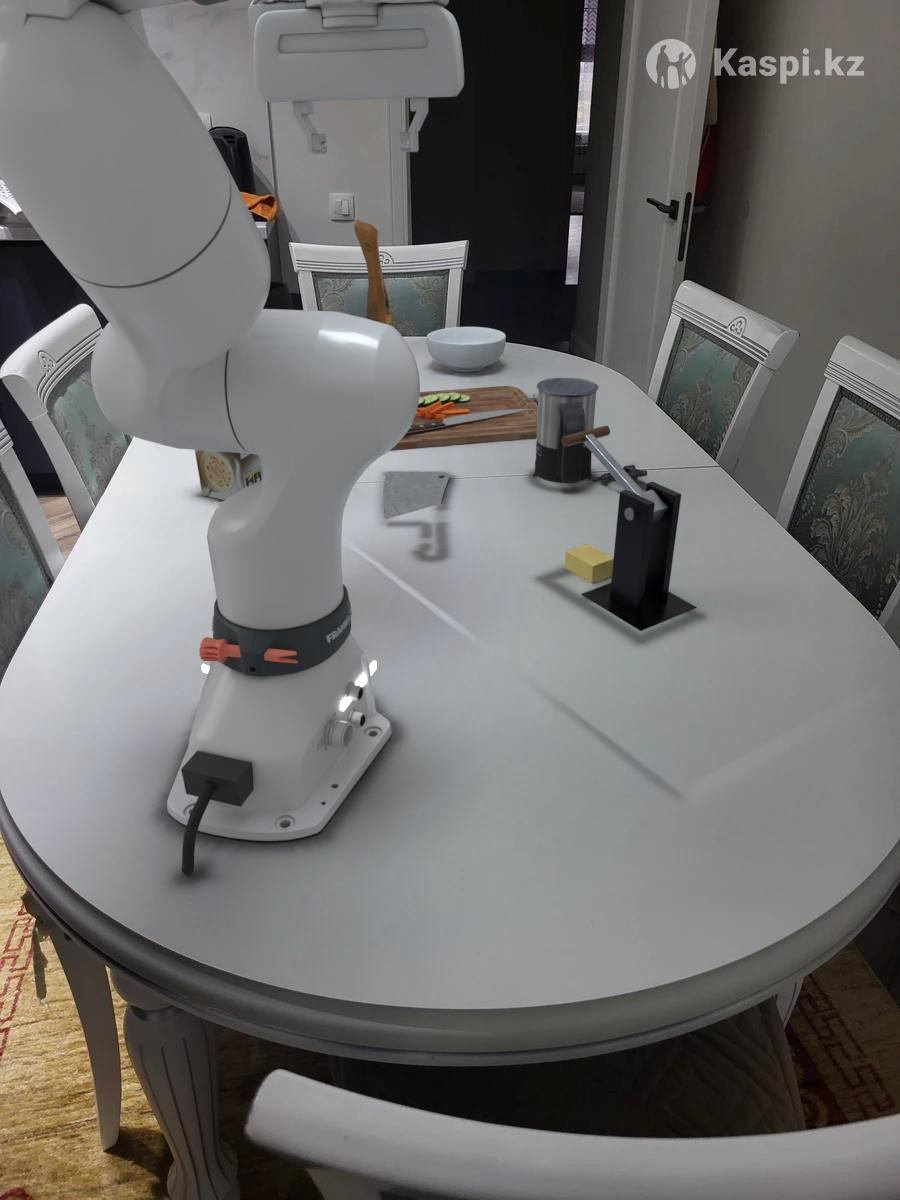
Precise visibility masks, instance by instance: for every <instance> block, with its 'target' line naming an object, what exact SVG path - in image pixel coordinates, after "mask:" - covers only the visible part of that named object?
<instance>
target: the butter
mask: <svg viewBox="0 0 900 1200" xmlns="http://www.w3.org/2000/svg"><path fill="white" fill-rule="evenodd" d="M613 559H614V557H613V556H611V555H609V554H607V553H605V552H603V551H601V550H599V549H598V548H597V547H595V546H592V545H591V544H589V543H585V544H581V545H579V546H576V547H573V548H569V549H566V550H565V558H564V569H565V570H567V571H569V572H571V573H573V574H574V575H576V576H577V577H579V578H580V579H582V580H584V581H586V582H587V583H589V584H591V585H592V584H595V583H598V582H601V581H604V580H607V579H608V578H612V569H613Z"/></svg>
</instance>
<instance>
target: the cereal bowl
mask: <svg viewBox="0 0 900 1200" xmlns="http://www.w3.org/2000/svg"><path fill="white" fill-rule="evenodd" d="M506 338H507V336H506V334H505V332H503V331H502V330H498V329H495V328H490V327H483V326H453V327H444V328H440V329H437V330H433V331H431V332H429V333H428V334H427V335H426V345H427V346H426V347H427V350H428V352H429V355H430V357H432V359H433V360H434V361H435V362H436V363H438V364H439V365H443V366H445V367H447V369H449V370H450V371H454V372H458V373H459V372H460V373H472V372H473V373H474V372H479V371H482V370H484V369H485V367H487V366H490V365H491V364H494V363H495V362H497V361H499V359H500V358H501V357H502V356H503V354H504V352H505V348H506V342H507V339H506Z"/></svg>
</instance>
